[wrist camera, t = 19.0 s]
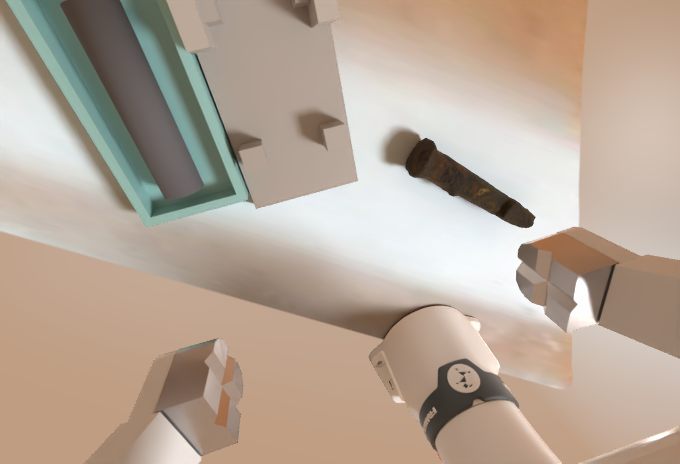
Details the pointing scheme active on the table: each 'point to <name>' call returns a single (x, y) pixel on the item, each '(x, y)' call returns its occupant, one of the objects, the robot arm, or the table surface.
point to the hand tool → (464, 184)
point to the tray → (106, 124)
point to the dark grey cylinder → (134, 92)
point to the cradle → (274, 90)
